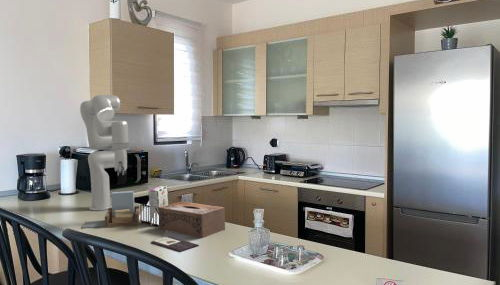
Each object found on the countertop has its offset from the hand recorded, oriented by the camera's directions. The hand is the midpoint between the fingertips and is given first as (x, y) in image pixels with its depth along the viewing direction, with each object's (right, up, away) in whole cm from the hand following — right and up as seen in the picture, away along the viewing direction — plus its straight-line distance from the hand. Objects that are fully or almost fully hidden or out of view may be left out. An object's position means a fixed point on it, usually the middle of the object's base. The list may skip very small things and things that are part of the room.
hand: (122, 182), depth 197 cm
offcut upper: (+1, -15, -4) cm, 16 cm away
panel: (0, -19, +2) cm, 19 cm away
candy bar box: (+19, -19, -3) cm, 27 cm away
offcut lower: (+1, -19, -4) cm, 20 cm away
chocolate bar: (+32, -21, -37) cm, 53 cm away
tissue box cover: (+36, -19, -16) cm, 44 cm away
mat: (-11, -19, -4) cm, 23 cm away
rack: (+1, -19, -1) cm, 19 cm away
